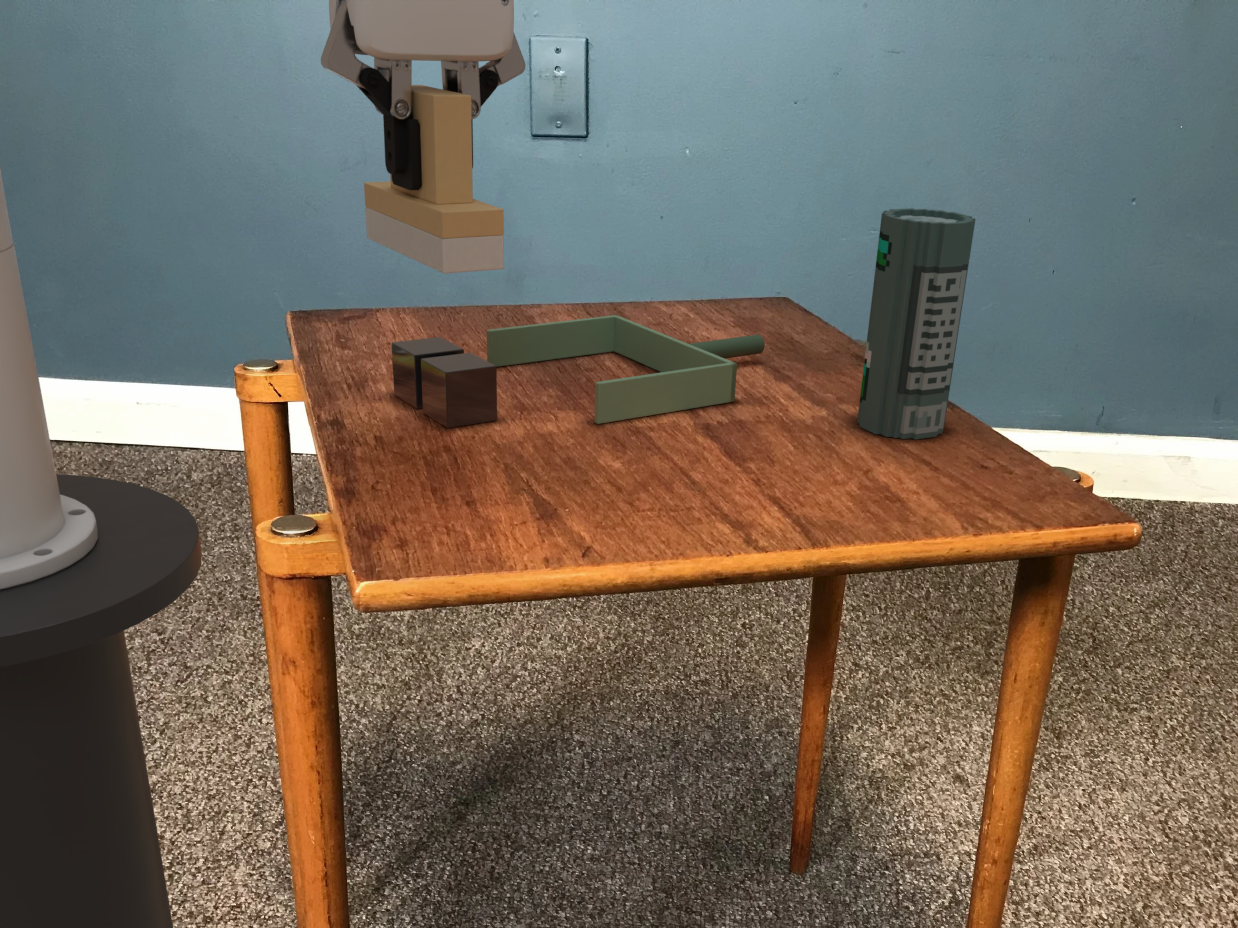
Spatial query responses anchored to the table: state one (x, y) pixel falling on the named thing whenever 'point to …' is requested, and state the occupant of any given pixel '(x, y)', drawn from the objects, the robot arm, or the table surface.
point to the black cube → (459, 389)
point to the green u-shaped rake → (684, 367)
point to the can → (914, 321)
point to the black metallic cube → (416, 365)
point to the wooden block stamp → (439, 195)
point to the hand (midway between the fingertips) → (430, 183)
